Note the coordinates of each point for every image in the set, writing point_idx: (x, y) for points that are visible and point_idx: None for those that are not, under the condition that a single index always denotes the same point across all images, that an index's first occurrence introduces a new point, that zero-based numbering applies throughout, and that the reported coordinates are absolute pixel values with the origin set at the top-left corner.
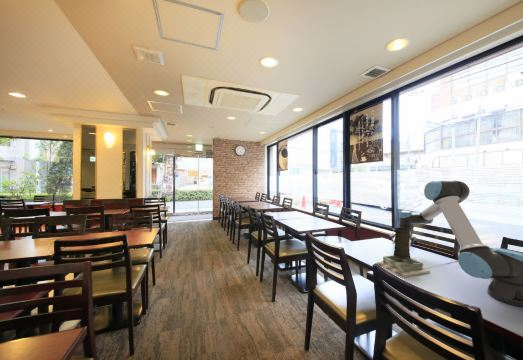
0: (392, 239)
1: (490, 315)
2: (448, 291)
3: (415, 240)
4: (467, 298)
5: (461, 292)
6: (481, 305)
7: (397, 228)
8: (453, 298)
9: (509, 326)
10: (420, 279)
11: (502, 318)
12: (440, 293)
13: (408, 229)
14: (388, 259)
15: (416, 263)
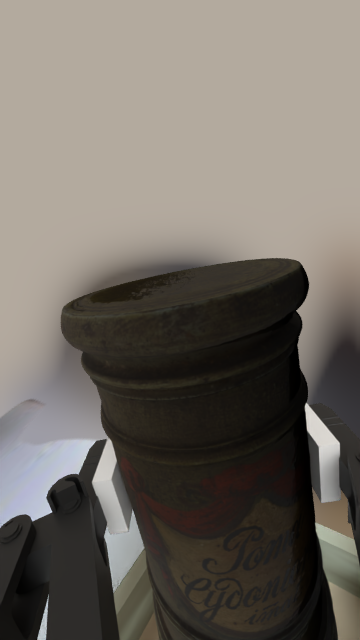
0: (312, 406)
1: (26, 421)
2: (56, 475)
3: (18, 524)
4: (20, 466)
5: (6, 500)
6: (8, 451)
7: (248, 263)
8: (67, 440)
9: (19, 409)
10: (131, 515)
11: (7, 425)
12: (92, 444)
13: (83, 301)
14: (325, 530)
15: (119, 596)
